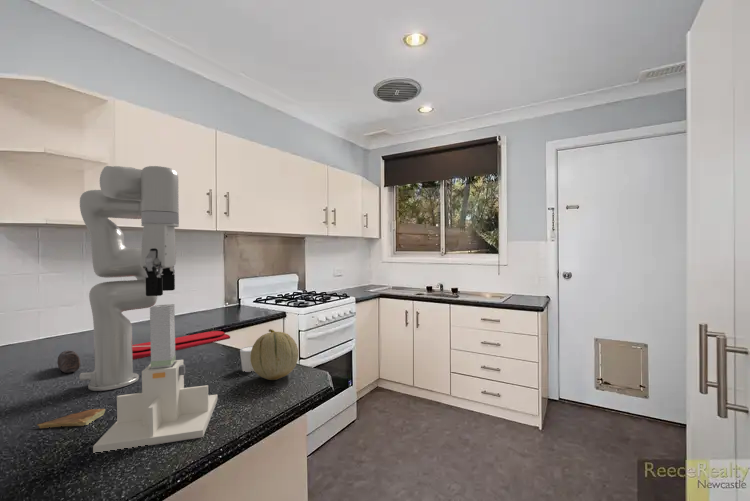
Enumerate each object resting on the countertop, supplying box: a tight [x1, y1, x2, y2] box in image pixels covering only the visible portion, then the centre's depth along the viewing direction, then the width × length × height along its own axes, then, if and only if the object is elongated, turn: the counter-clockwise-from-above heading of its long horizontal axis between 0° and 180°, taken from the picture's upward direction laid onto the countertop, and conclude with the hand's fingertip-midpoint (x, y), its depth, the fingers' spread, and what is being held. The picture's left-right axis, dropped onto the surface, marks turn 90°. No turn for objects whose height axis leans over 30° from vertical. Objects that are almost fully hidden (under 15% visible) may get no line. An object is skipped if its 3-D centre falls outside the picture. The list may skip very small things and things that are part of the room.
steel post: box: [149, 303, 177, 369], centre depth 82 cm, size 4×4×18 cm
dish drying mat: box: [132, 330, 231, 360], centre depth 153 cm, size 16×41×4 cm, turn 141°
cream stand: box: [92, 359, 219, 454], centre depth 82 cm, size 20×20×14 cm
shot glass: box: [239, 345, 255, 373], centre depth 120 cm, size 7×7×7 cm
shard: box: [36, 408, 106, 429], centre depth 85 cm, size 11×8×2 cm
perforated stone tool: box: [56, 350, 81, 374], centre depth 123 cm, size 15×5×7 cm, turn 49°
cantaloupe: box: [250, 328, 299, 381], centre depth 110 cm, size 15×15×15 cm
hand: (161, 292), depth 83 cm, fingers open, 9 cm apart
